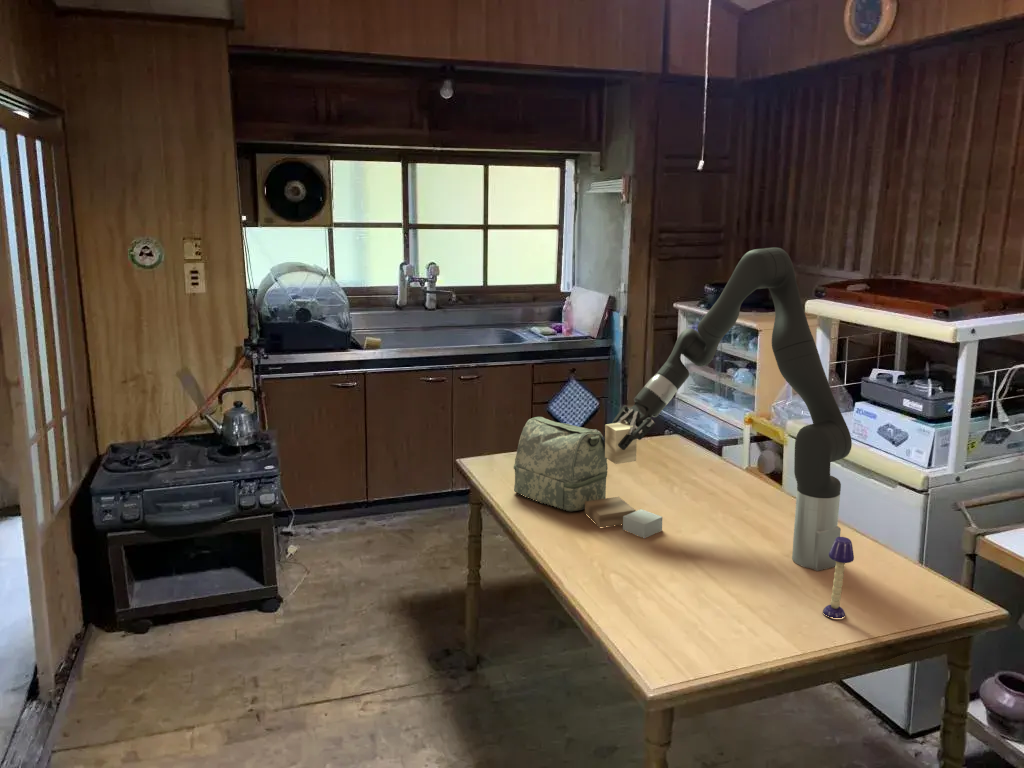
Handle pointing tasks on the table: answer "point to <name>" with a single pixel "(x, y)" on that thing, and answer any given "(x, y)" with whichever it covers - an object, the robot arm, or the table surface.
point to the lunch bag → (560, 464)
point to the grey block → (642, 523)
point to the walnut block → (608, 511)
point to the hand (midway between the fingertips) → (614, 444)
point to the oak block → (613, 438)
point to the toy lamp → (839, 574)
